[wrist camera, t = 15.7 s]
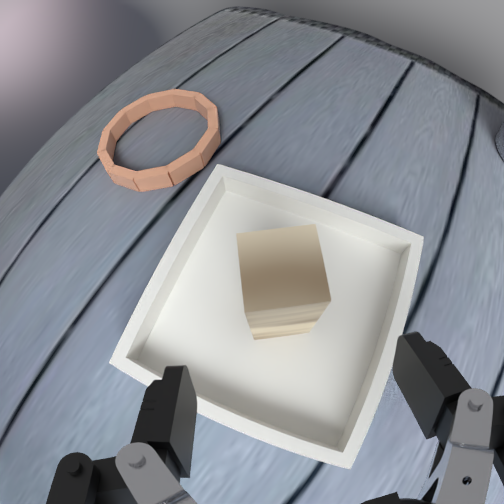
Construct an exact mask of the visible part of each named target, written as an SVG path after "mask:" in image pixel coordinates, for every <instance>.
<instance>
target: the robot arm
mask: <svg viewBox="0 0 504 504" xmlns="http://www.w3.org/2000/svg"><path fill="white" fill-rule="evenodd" d="M495 141H496V146H497V149H498V151H499V153H500V155H501V157H502V159H503V160H504V122H503V124H502V125H501V127H500V130H499V132H498V133H497V135H496V138H495ZM393 375H394V378H395V381H396V382H397V384H398V386H399V388H400V390H401V392H402V393H403V395H404V397H405V399H406V401H407V403H408V405H409V407H410V408H411V410H412V412H413V414H414V416H415V418H416V420H417V422H418V424H419V426H420V428H421V430H422V432H423V434H424V436H425V438H426V439H429V438H432V437H434V436H437V438H438V440H439V441H438V443H437V445H436V449H435V452H434V456H433V459H432V462H431V465H430V468H429V471H428V474H427V477H426V480H425V483H424V485H423V487H422V489H421V491H420V493H419V495H418V497H417V499H410V498H402V499H399V496H398V494H397V492H395V493H392V494H389V495H385V496H382V497H379V498H375V499H372V500H368V501H365V502H363V503H361V504H485V500H486V495H487V491H488V486H489V481H490V476H491V470H492V464H494V466H495V468H496V471H497V473H498V475H499V477H500V479H501V481H502V483H503V486H504V396H496V397H491V396H490V395H489V394H488V393H487V392H485V391H483V390H481V389H476V388H473V389H472V388H471V387H470V386H469V384H468V383H467V381H466V380H465V379H464V377H463V376H462V375H461V373H460V372H459V371H458V369H457V368H456V367H455V366H454V364H452V362H451V360H450V359H449V358H447V355H446V354H445V353H444V351H443V350H442V349H441V348H440V347H439V346H437V345H436V344H434V343H433V342H431V341H428V342H426V341H425V340H424V338H423V337H422V336H421V335H420V333H419V332H412V333H408V334H404V335H400V336H399V337H398V339H397V345H396V350H395V356H394V361H393ZM140 409H141V411H140V412H139V415H138V418H137V422H136V426H135V429H134V433H133V436H132V440H131V443H130V444H128V445H126V446H124V447H123V448H122V449H121V450H120V451H119V452H118V453H117V456H115V457H111V458H106V459H100V460H94V461H92V460H91V459H90V458H89V457H88V456H87V455H85V454H83V453H78V452H76V453H70V454H68V455H66V456H65V457H63V458H62V459H61V460H60V462H59V464H58V466H57V469H56V473H55V476H54V479H53V482H52V485H51V489H50V492H49V495H48V499H47V502H46V504H197V503H196V502H195V501H194V499H193V498H192V497H191V496H190V495H189V494H188V493H187V492H186V491H185V490H184V489H183V487H182V486H181V485H180V477H181V478H190V469H191V459H192V450H193V441H194V432H195V423H196V414H197V397H196V392H195V389H194V386H193V383H192V380H191V377H190V374H189V370H188V368H187V366H186V365H177V366H166V367H165V370H164V374H163V377H162V380H153V382H152V383H151V384H150V385H149V386H148V388H147V389H146V391H145V395H144V398H143V402H142V405H141V408H140Z"/></svg>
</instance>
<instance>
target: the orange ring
mask: <svg viewBox="0 0 504 504" xmlns="http://www.w3.org/2000/svg"><path fill="white" fill-rule="evenodd" d="M171 107H181V108H186V109H191V110H196V111H198V112H199V113H200V114H201V115H202V116H203V117H204V118H205V119H206V120H208V129H207V131H206V132H205V133H204V135H203V136H202V138H201V139H200V140H199V142H198V143H197V145H196V146H195V148H194V149H193V150H191V151H190V152H188V153H186V154H185V155H183V156H181V157H180V158H178V159H176V160H175V161H173V162H171V163H170V164H168V165H167V166H162V167H156V168H151V169H146V170H141V171H134V170H131V169H127V168H124V167H121V166H117V165H115V164H114V162H113V156H114V151H115V146H116V141H117V140H118V139H119V138H120V136H121V135H122V134H123V133H124V132H125V130H126V129H127V128H128V127H129V126H130V124H132V123H133V122H135V121H137V120H138V119H140V118H142V117H143V116H145V115H147V114H149V113H150V112H152V111H157V110H161V109H166V108H171ZM103 130H104V131H102V135H101V139H100V143H99V147H98V151H97V154H98V156H99V158H100V160H101V162H102V164H103V165H104V167H105V169H106V171H107V173H108V174H109V176H110V177H111V179H112V180H113V182H114V183H115V184H118V185H121V186H124V187H127V188H130V189H132V190H135V191H138V192H140V191H141V192H144V191H149V190H155V189H160V188H166V187H172V186H173V184H174V185H177V184H178V183H180V182H182V181H183V180H185V179H186V178H188V177H190V176H191V175H193V174H194V173H196V172H198V171H199V170H201V169H203V168H204V166H206V164H207V163H208V161H209V160H210V158H211V157H212V155H213V154H214V152H215V151H216V149H217V148H218V146H219V145H220V142H221V137H220V123H219V116H218V111H217V107H216V106H215V105H214V104H213V103H212V102H211V101H209V100H208V99H207V98H206V97H205V96H204V95H202V94H201V93H199V92H193V91H186V90H180V89H175V90H174V89H171V90H166V91H162V92H157V93H153V94H148V95H147V96H146V95H145V96H143V97H142V98H140V99H138V100H136V101H135V102H133V103H131V104H129V105H128V106H126V107H124V108H123V109H121V110H120V111H119V112H118V113H117V114H116V115H115V117H114V118H113V119H112V120H111V121H110V122H109V124H108V125H107V126H106V127H105V128H104V129H103Z"/></svg>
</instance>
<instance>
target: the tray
mask: <svg viewBox="0 0 504 504" xmlns="http://www.w3.org/2000/svg"><path fill="white" fill-rule="evenodd" d="M310 224H316V228H317V233H318V237H319V242H320V246H321V251H322V256H323V260H324V265H325V270H326V275H327V280H328V285H329V290H330V296H331V302H330V304H329V305H328V306H327V308H326V309H325V311H324V312H323V314H322V315H321V316H320V318H319V319H318V321H317V322H316V323H315V325H314V326H313V328H312V329H311V330H310V332H309V333H303V334H296V335H289V336H282V337H274V338H267V339H258V340H254V338H253V336H252V333H251V330H250V327H249V324H248V321H247V318H246V315H245V313H244V304H243V294H242V285H241V276H240V266H239V257H238V247H237V237H236V233H244V232H252V231H260V230H268V229H277V228H285V227H293V226H302V225H310ZM423 240H424V237H423V236H421V235H418V234H416V233H413V232H411V231H409V230H406V229H404V228H401V227H399V226H396V225H394V224H391V223H389V222H386V221H384V220H381V219H379V218H376V217H374V216H371V215H368V214H366V213H363V212H361V211H358V210H355V209H353V208H350V207H347V206H344V205H342V204H339V203H336V202H333V201H331V200H328V199H325V198H322V197H319V196H317V195H314V194H311V193H308V192H305V191H302V190H299V189H296V188H293V187H290V186H287V185H284V184H281V183H278V182H275V181H272V180H269V179H266V178H263V177H259V176H256V175H253V174H250V173H246V172H243V171H240V170H237V169H233V168H230V167H227V166H223V165H220V164H217V165H216V167H215V168H214V170H213V172H212V173H211V175H210V176H209V178H208V180H207V181H206V183H205V185H204V186H203V188H202V189H201V191H200V193H199V194H198V196H197V198H196V199H195V201H194V203H193V205H192V206H191V208H190V210H189V211H188V213H187V215H186V216H185V218H184V220H183V222H182V223H181V225H180V227H179V229H178V230H177V232H176V234H175V236H174V237H173V239H172V241H171V243H170V245H169V246H168V248H167V250H166V252H165V254H164V255H163V257H162V259H161V261H160V263H159V264H158V266H157V268H156V270H155V272H154V274H153V276H152V278H151V279H150V281H149V283H148V285H147V287H146V289H145V291H144V293H143V295H142V297H141V299H140V300H139V302H138V304H137V306H136V308H135V310H134V312H133V314H132V316H131V318H130V320H129V322H128V324H127V326H126V328H125V330H124V332H123V334H122V336H121V339H120V341H119V343H118V345H117V347H116V349H115V351H114V353H113V355H112V357H111V360H110V362H109V363H110V364H112V365H113V366H115V367H116V368H118V369H120V370H121V371H123V372H124V373H126V374H128V375H129V376H131V377H133V378H134V379H136V380H138V381H139V382H141V383H143V384H145V385H146V386H149V385H150V384H151V383H152V382H153V380H162V377H163V374H164V370H165V367H166V366H177V365H186V366H187V368H188V370H189V374H190V377H191V380H192V383H193V386H194V389H195V392H196V397H197V413H199V414H201V415H203V416H206V417H208V418H210V419H212V420H214V421H216V422H218V423H221V424H223V425H225V426H227V427H230V428H232V429H234V430H237V431H239V432H241V433H244V434H246V435H249V436H251V437H253V438H256V439H258V440H261V441H264V442H266V443H269V444H271V445H274V446H277V447H280V448H282V449H285V450H288V451H291V452H294V453H297V454H300V455H303V456H306V457H309V458H312V459H315V460H318V461H322V462H325V463H328V464H332V465H335V466H339V467H343V468H346V469H351V467H352V465H353V463H354V460H355V458H356V456H357V454H358V452H359V450H360V448H361V445H362V443H363V441H364V439H365V436H366V434H367V432H368V429H369V427H370V424H371V422H372V420H373V417H374V415H375V412H376V410H377V407H378V404H379V402H380V399H381V397H382V394H383V391H384V388H385V386H386V383H387V380H388V377H389V374H390V371H391V368H392V365H393V361H394V356H395V350H396V345H397V339H398V337H399V336H400V335H402V333H403V329H404V325H405V322H406V318H407V314H408V310H409V307H410V303H411V298H412V294H413V290H414V286H415V281H416V277H417V272H418V267H419V262H420V257H421V252H422V246H423Z"/></svg>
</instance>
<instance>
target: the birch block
mask: <svg viewBox="0 0 504 504" xmlns="http://www.w3.org/2000/svg"><path fill="white" fill-rule="evenodd" d="M236 237H237V247H238V257H239V266H240V276H241V285H242V294H243V304H244V313H245V315H246V318H247V321H248V324H249V327H250V330H251V333H252V336H253V338H254V340H258V339H267V338H274V337H282V336H289V335H296V334H303V333H309V332H310V330H311V329H312V328H313V326H314V325H315V323H316V322H317V321H318V319H319V318H320V316H321V315H322V314H323V312H324V311H325V309H326V308H327V306H328V305H329V304H330V302H331V296H330V290H329V285H328V280H327V275H326V270H325V265H324V260H323V256H322V251H321V246H320V242H319V237H318V233H317V228H316V224H310V225H302V226H293V227H285V228H277V229H268V230H260V231H252V232H244V233H236Z"/></svg>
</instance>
